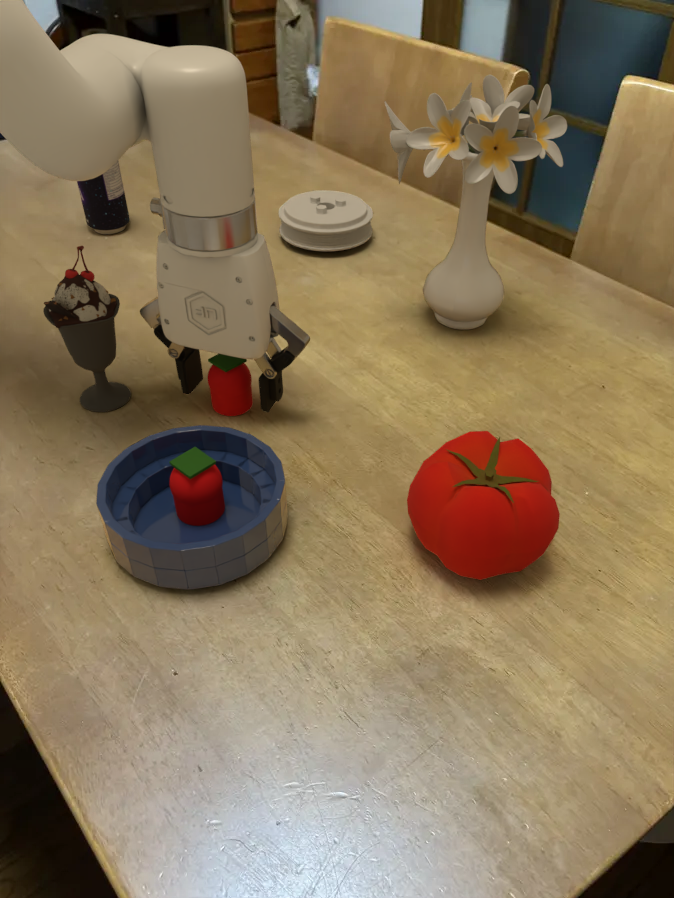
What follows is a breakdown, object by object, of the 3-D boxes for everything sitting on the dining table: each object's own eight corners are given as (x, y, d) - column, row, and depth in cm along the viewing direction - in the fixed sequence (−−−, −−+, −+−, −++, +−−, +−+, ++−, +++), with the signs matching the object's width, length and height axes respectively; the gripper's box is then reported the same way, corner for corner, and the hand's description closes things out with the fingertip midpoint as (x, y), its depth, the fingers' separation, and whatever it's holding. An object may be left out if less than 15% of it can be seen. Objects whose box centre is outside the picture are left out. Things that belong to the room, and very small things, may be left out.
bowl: (74, 529, 62) (59, 484, 58) (211, 448, 70) (205, 404, 66) (185, 626, 55) (175, 581, 52) (322, 524, 63) (322, 479, 60)
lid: (391, 238, 103) (392, 202, 100) (325, 267, 97) (324, 229, 93) (327, 210, 110) (326, 175, 106) (260, 236, 103) (258, 199, 99)
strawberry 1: (164, 509, 63) (154, 461, 59) (204, 485, 65) (196, 437, 62) (196, 534, 61) (188, 486, 57) (236, 508, 63) (230, 460, 60)
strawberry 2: (202, 404, 75) (195, 359, 71) (234, 386, 77) (229, 342, 73) (230, 422, 73) (224, 376, 69) (262, 403, 75) (258, 358, 71)
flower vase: (368, 297, 91) (375, 67, 74) (512, 287, 94) (551, 64, 77) (390, 355, 82) (404, 108, 65) (549, 342, 85) (602, 102, 68)
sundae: (134, 373, 78) (103, 234, 68) (144, 409, 74) (113, 266, 63) (68, 384, 76) (26, 243, 66) (74, 423, 72) (30, 278, 62)
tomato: (426, 485, 67) (435, 403, 61) (560, 523, 64) (583, 440, 58) (383, 569, 60) (389, 485, 53) (532, 616, 57) (557, 533, 50)
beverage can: (119, 215, 106) (101, 125, 98) (138, 229, 103) (121, 137, 95) (81, 225, 104) (59, 133, 95) (99, 240, 100) (78, 146, 92)
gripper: (92, 222, 61) (133, 398, 73) (292, 257, 58) (300, 436, 70) (140, 189, 66) (171, 358, 78) (325, 219, 63) (327, 392, 75)
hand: (231, 394), depth 74 cm, fingers open, 7 cm apart
